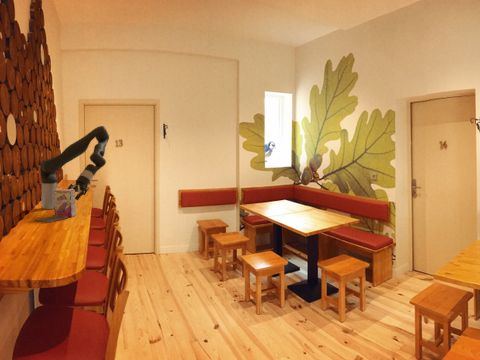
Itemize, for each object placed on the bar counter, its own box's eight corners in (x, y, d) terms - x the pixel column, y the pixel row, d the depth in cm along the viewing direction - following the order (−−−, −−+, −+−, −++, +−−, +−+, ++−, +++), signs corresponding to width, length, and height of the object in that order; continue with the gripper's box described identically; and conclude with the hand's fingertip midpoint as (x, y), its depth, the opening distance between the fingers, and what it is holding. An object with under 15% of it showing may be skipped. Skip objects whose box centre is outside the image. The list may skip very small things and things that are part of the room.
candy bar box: (54, 216, 205) (52, 190, 203) (59, 214, 210) (58, 188, 208) (71, 217, 204) (70, 190, 202) (76, 215, 209) (75, 189, 206)
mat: (34, 220, 193) (34, 218, 193) (54, 216, 205) (54, 214, 205) (48, 222, 189) (48, 220, 189) (67, 218, 201) (67, 216, 201)
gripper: (96, 183, 219) (83, 203, 209) (79, 181, 224) (66, 201, 214) (90, 175, 213) (76, 196, 204) (73, 174, 218) (58, 194, 209)
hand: (70, 198), depth 209 cm, fingers open, 8 cm apart
